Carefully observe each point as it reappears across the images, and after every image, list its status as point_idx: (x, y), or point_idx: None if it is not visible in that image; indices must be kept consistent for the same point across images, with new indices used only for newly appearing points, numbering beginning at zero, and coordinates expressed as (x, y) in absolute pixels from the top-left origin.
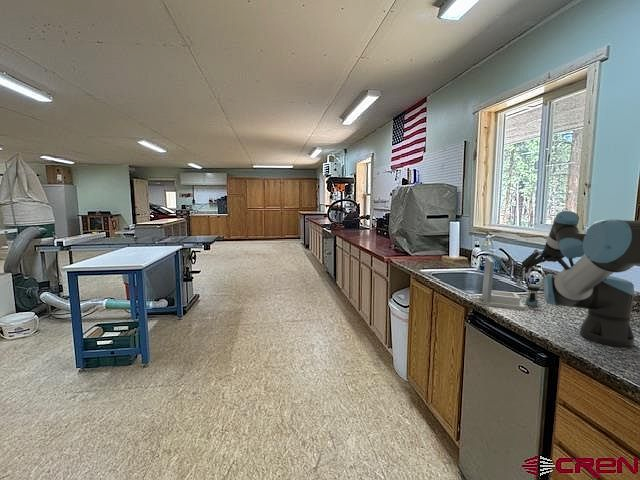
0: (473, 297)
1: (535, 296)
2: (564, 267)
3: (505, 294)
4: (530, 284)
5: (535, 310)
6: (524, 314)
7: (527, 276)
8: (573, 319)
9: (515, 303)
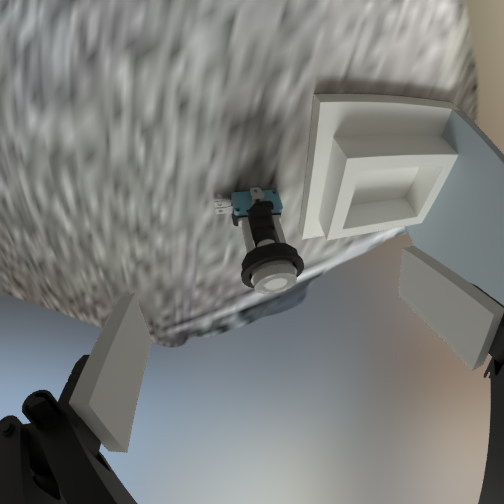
0: None
1: (250, 229)
2: (99, 498)
3: (363, 217)
4: (289, 284)
5: (257, 113)
6: (341, 10)
7: (431, 259)
8: (78, 65)
9: (352, 137)
